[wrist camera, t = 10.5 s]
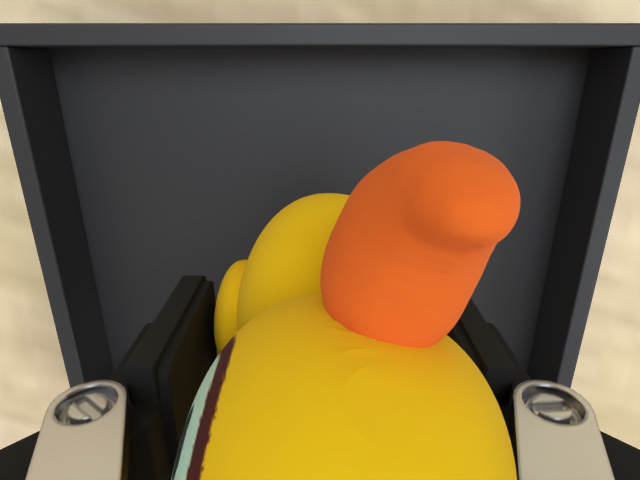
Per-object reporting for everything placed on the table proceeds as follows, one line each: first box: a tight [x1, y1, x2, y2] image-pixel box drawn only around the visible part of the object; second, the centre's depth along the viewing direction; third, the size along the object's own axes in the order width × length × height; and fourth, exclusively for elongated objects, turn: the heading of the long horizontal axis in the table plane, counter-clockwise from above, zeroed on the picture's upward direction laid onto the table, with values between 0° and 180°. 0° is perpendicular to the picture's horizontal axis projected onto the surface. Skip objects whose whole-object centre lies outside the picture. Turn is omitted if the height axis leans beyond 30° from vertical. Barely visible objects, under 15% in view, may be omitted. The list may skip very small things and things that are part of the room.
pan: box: [0, 23, 640, 388], centre depth 17 cm, size 15×19×3 cm
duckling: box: [171, 141, 521, 480], centre depth 9 cm, size 11×5×10 cm, turn 166°
